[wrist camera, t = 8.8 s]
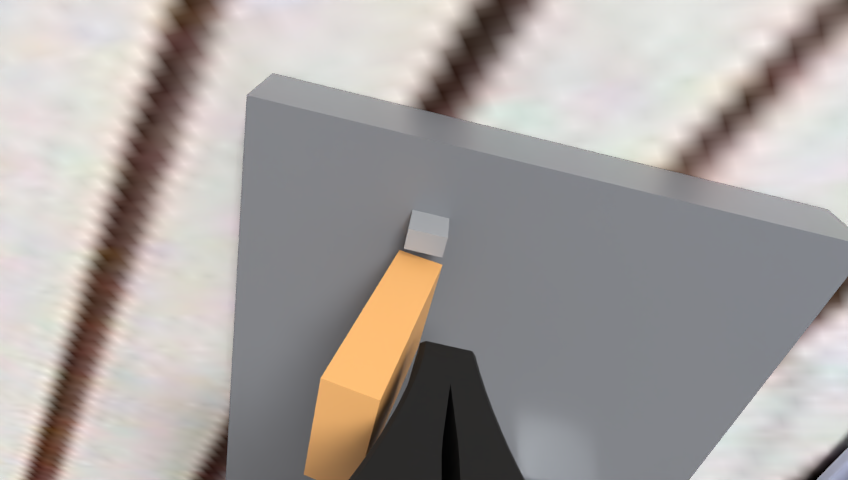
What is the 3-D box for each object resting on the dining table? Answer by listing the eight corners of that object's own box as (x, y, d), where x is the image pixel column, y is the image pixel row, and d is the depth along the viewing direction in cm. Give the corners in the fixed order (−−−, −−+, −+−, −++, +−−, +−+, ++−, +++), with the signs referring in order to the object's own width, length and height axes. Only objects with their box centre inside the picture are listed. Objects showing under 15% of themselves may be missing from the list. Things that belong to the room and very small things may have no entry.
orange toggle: (442, 264, 15) (379, 400, 10) (418, 347, 16) (355, 495, 12) (399, 250, 15) (320, 377, 10) (379, 333, 16) (303, 474, 12)
